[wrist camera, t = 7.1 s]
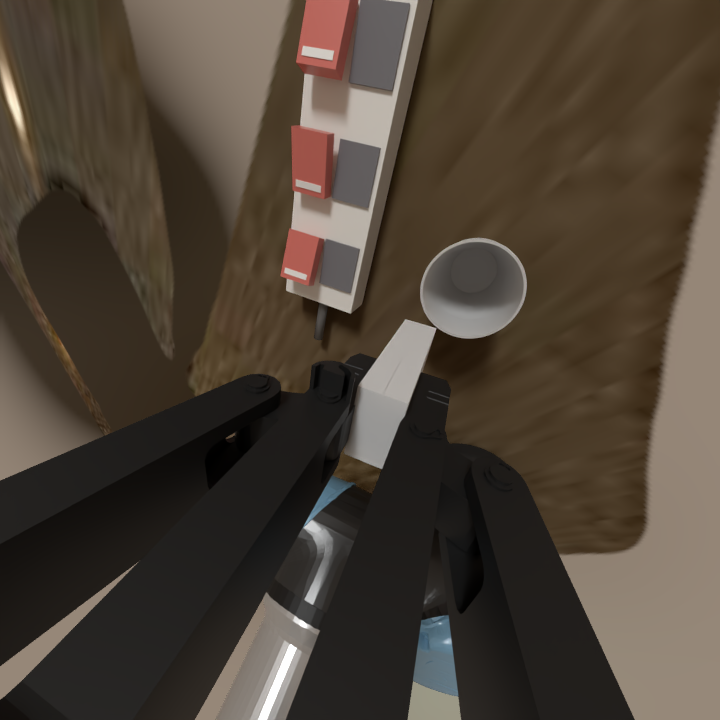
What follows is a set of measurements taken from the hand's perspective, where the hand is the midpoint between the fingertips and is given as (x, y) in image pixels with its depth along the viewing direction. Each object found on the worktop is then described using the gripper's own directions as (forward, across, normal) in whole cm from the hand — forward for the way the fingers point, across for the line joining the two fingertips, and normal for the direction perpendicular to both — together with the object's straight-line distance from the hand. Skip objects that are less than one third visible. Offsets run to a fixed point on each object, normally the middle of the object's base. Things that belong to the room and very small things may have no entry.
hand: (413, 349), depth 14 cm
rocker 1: (+17, +15, -17) cm, 28 cm away
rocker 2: (+17, +15, -8) cm, 24 cm away
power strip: (+22, +14, -5) cm, 27 cm away
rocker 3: (+17, +16, +1) cm, 23 cm away
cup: (+23, -2, -1) cm, 23 cm away
